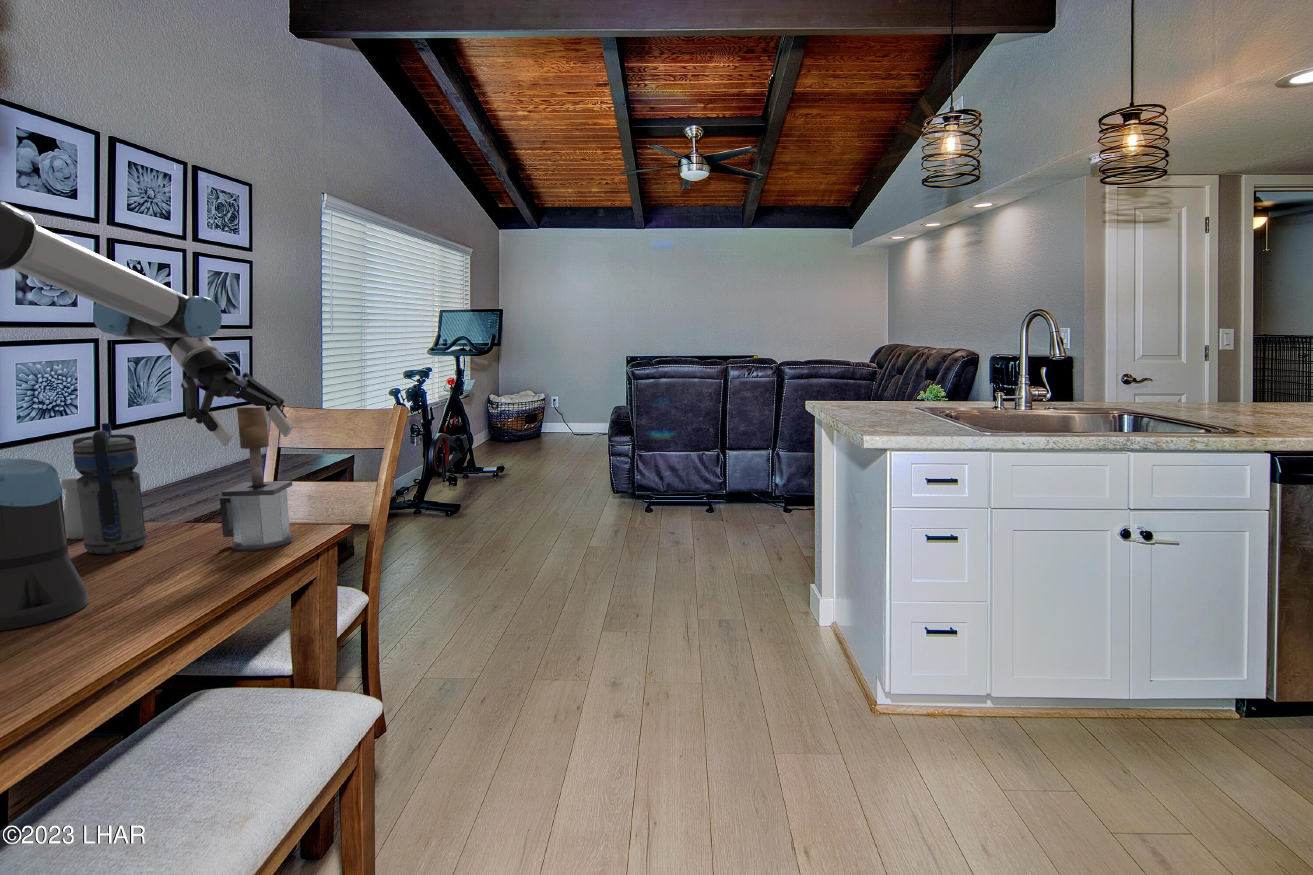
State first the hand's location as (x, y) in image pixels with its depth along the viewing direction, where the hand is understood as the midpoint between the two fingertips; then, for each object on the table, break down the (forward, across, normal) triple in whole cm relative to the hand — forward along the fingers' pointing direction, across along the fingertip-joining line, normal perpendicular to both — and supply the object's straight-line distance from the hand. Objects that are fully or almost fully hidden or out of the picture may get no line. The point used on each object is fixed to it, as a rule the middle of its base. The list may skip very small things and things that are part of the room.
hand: (260, 436), depth 146 cm
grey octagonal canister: (+14, 0, +17) cm, 22 cm away
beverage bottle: (-3, -14, +34) cm, 37 cm away
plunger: (+6, 0, +8) cm, 10 cm away
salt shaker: (-15, -10, +47) cm, 50 cm away
